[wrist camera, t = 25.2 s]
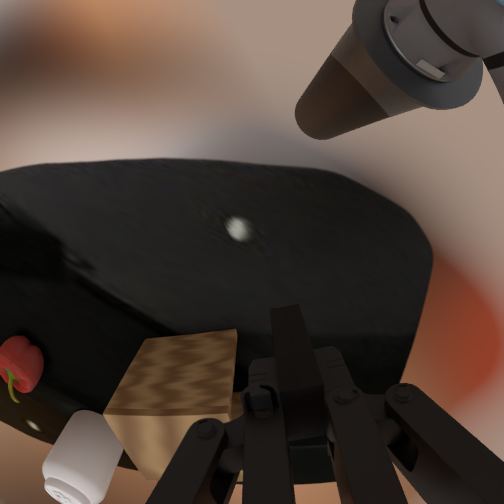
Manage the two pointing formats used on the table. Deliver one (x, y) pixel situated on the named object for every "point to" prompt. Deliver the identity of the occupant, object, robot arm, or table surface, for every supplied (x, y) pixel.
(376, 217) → the table surface
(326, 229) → the table surface
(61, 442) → the white jar
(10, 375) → the vegetable
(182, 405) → the cubby
